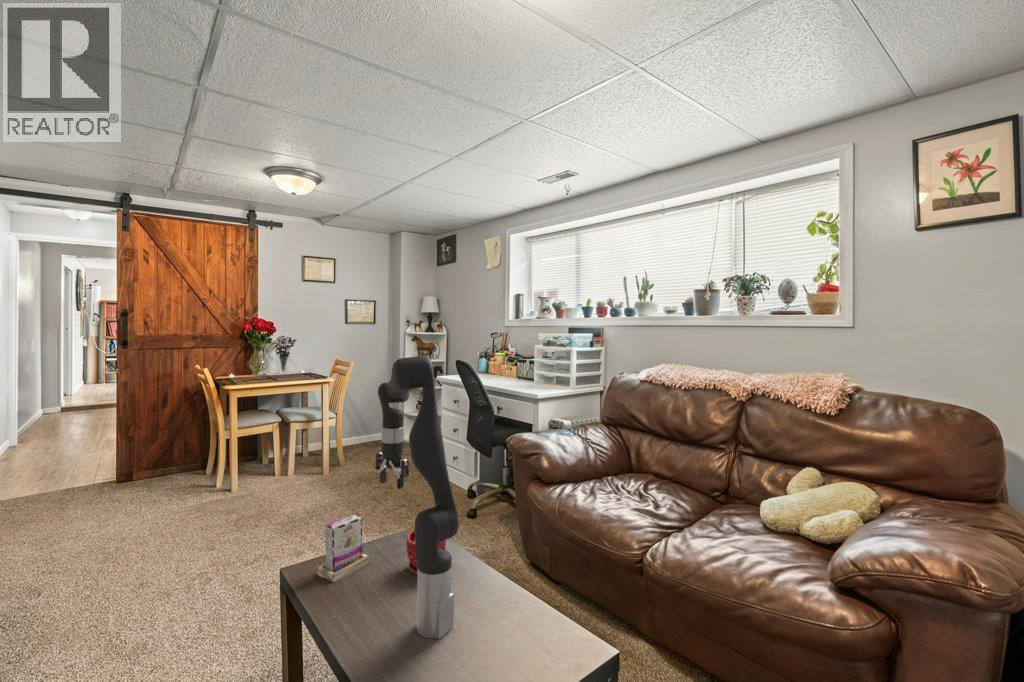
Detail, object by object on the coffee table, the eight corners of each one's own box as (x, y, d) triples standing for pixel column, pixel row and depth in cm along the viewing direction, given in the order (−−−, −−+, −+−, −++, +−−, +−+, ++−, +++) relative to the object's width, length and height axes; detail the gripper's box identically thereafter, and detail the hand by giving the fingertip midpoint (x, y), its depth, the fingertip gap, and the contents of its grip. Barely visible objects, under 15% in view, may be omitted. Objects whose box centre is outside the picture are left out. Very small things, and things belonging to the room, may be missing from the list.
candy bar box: (353, 560, 165) (354, 513, 164) (362, 564, 162) (363, 517, 161) (324, 573, 156) (324, 524, 155) (332, 578, 153) (333, 528, 152)
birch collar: (369, 563, 163) (369, 556, 163) (334, 582, 151) (334, 574, 151) (352, 556, 168) (352, 549, 167) (316, 574, 155) (316, 567, 155)
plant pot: (402, 563, 163) (402, 529, 163) (439, 556, 169) (440, 523, 168) (411, 583, 151) (411, 546, 151) (450, 575, 157) (451, 539, 156)
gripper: (415, 441, 163) (413, 487, 164) (387, 434, 171) (386, 478, 172) (398, 445, 157) (397, 493, 158) (370, 438, 165) (369, 483, 166)
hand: (391, 485), depth 165 cm, fingers open, 8 cm apart
